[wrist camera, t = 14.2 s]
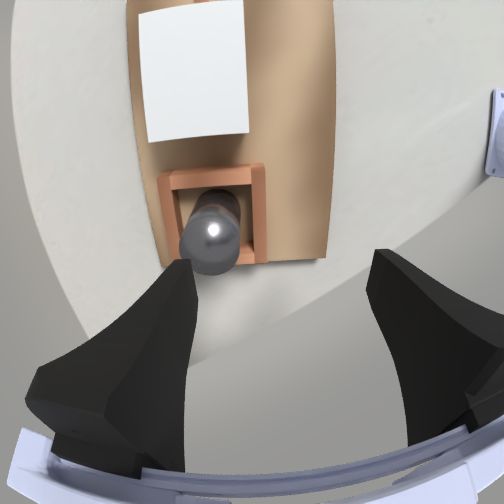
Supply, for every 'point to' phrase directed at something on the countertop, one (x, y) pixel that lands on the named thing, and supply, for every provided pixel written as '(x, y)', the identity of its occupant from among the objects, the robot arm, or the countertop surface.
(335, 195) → the countertop surface
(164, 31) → the plain white cuboid
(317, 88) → the board
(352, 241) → the countertop surface
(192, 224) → the grey metal cylinder
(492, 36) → the countertop surface
